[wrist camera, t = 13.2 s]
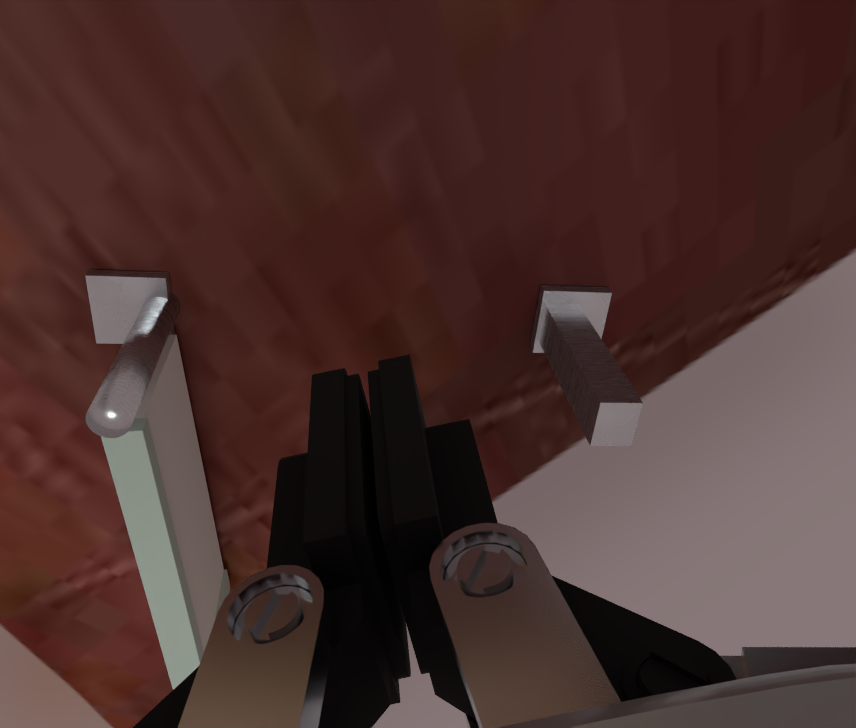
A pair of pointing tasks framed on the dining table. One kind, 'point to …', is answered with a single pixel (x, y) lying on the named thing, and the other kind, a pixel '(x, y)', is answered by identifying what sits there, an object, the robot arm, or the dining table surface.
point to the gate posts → (552, 334)
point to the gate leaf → (170, 516)
